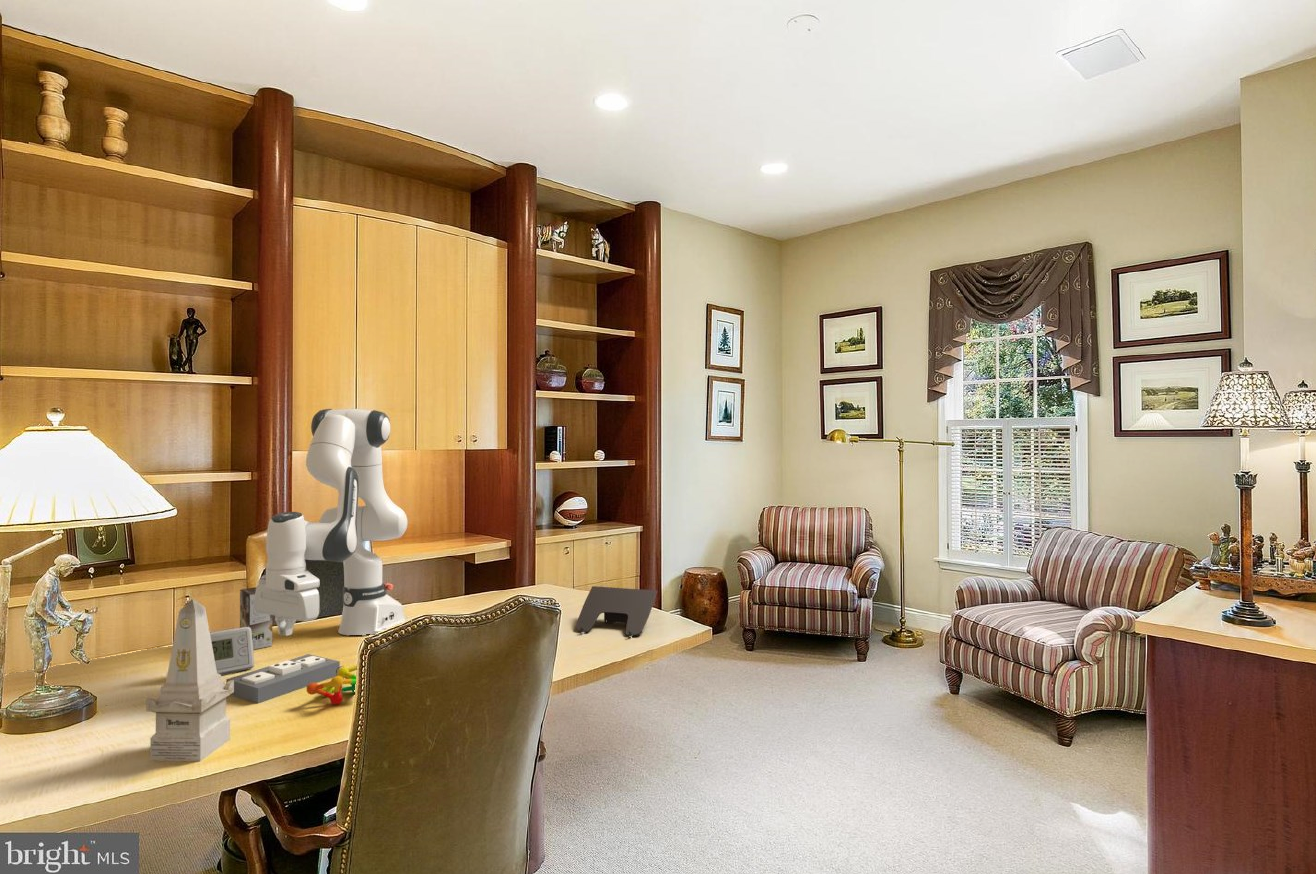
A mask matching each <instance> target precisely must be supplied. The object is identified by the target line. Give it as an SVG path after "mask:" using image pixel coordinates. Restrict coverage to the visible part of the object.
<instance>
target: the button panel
mask: <svg viewBox="0 0 1316 874" xmlns="http://www.w3.org/2000/svg"><path fill="white" fill-rule="evenodd" d="M310 656H316V657H320V658H324V659H325V662H322V663H319V664H316V665H313V666H310V667H305V666H301V669H300V670H297V671H294V672H291V673H288V674H285V675H278V674H275V673H271V672H269V666H270V665H268V666H266V667H262V668H258V669H256V670H253V671H252V670H251V671H248V672H245V673H243V674H239V675H237V676H232V677H229V678H226V680H225V681H226V683H227V682H228V681H230V680H234V692H233V693H231V694H230V695H229V696H233V697H235V698H238V699H241V700H246V701H249V702H252V703H255V704H261V703H263V702H265V701H268V700H272V699H275V698H277V697H281V696H282V695H286V694H289V693H291V692H295V691H298V690H302V689H304V688H307V686H308V685H309V684H310V683H317V682H318V683H320V682H323V681H326V680H329V679H332V678H333V677H335V676H336V675H337V674H336V670H337V669H338V668H339V667H340V664H341V663H340V661H339V660H335V659H331V658H328V657H322V656H319V655H315V654H310V653H307V654H304V655H301V656H297V657H295V658H291V659H288V660H289V661H293V662H295V661H297V660H301V659H304V658H307V657H310ZM259 672H265V673H269V674H272V675H275V678H273V679H269V680H266V681H263V682H260V683H257V684H251V683H247V682H244V681H242V678H243V677H246V676H249V675H252V674H255V673H259ZM226 683H225V684H226ZM318 683H317V684H318Z"/></svg>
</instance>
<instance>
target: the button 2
mask: <svg viewBox="0 0 1316 874" xmlns="http://www.w3.org/2000/svg"><path fill="white" fill-rule="evenodd" d="M289 660H290V659H288V660H285V661H280V662H278V663H277V662H276V663H274V664H272V665H268V666H269V672H271V673H275V674H278V675H285V674H288V673H291V672H294V671H297V670H300V669H301V663H297V662H293V661H289Z"/></svg>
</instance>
